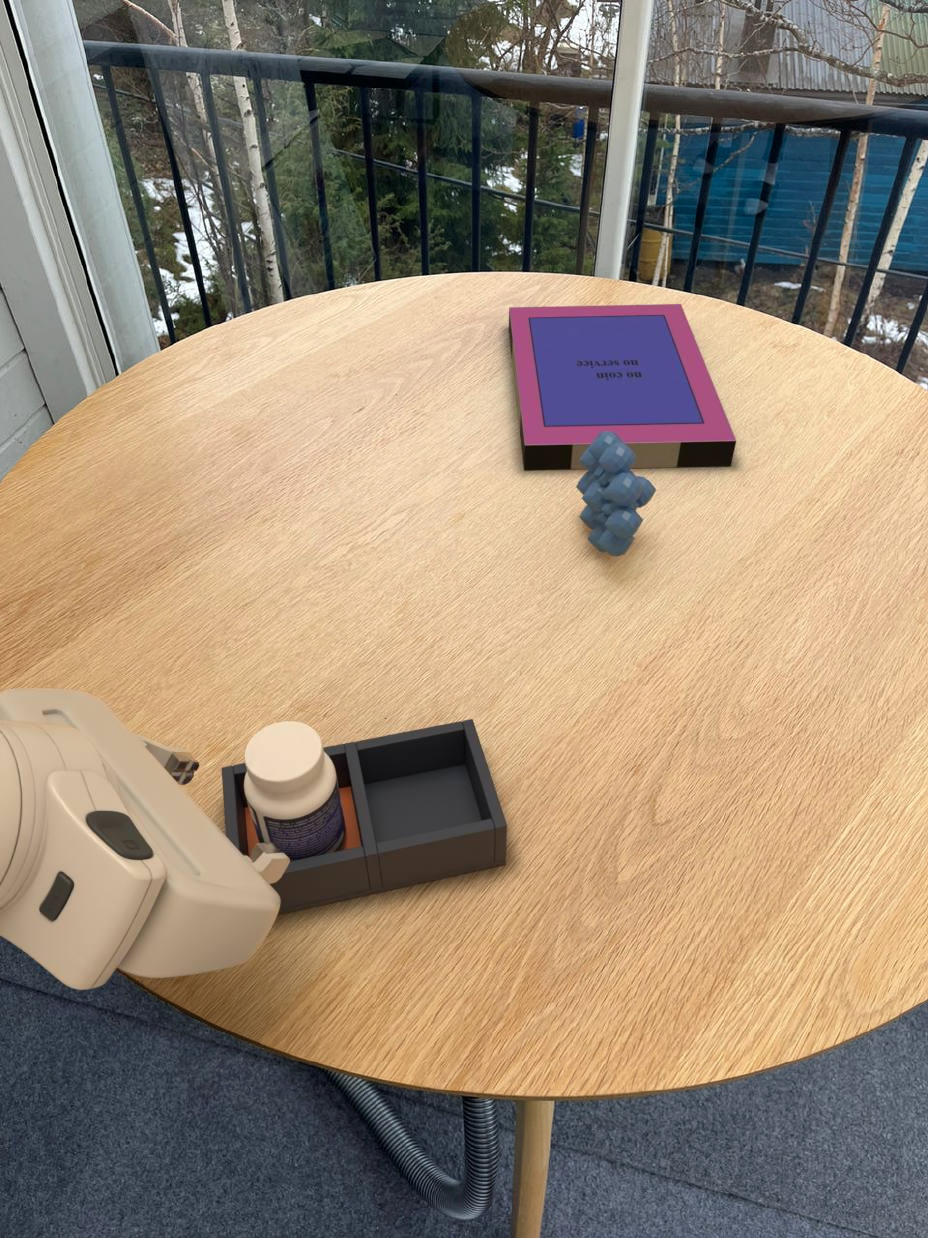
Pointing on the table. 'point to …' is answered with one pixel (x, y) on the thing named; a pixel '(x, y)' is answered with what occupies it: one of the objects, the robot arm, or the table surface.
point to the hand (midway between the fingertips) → (231, 812)
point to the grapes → (612, 494)
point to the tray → (392, 816)
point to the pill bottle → (293, 791)
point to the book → (614, 386)
